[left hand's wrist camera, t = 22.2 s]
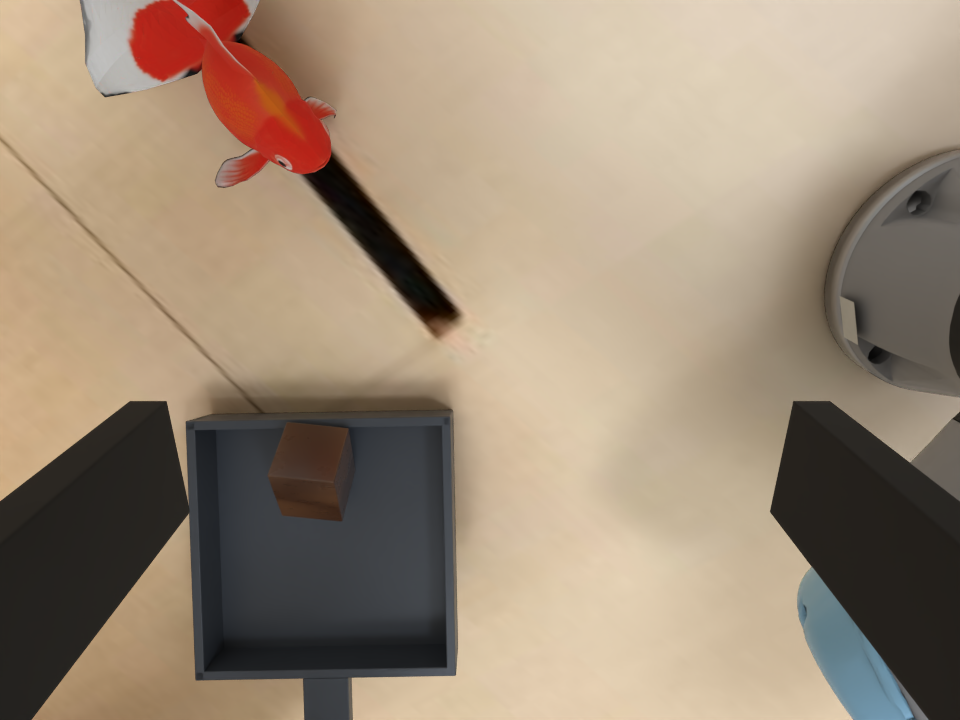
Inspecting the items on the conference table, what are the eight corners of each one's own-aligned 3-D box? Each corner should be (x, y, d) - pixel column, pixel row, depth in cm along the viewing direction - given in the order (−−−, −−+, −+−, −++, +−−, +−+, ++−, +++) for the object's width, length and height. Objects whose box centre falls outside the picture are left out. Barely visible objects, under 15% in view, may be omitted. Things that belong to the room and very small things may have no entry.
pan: (453, 409, 42) (445, 428, 33) (461, 806, 43) (456, 924, 34) (210, 414, 42) (141, 433, 33) (225, 810, 43) (161, 928, 34)
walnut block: (355, 469, 41) (349, 427, 38) (342, 522, 39) (333, 482, 35) (299, 464, 41) (286, 421, 38) (281, 516, 39) (266, 475, 35)
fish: (206, 269, 33) (113, 185, 24) (93, 47, 35) (-36, -116, 25) (377, 189, 35) (356, 80, 25) (261, -18, 37) (200, -194, 27)
